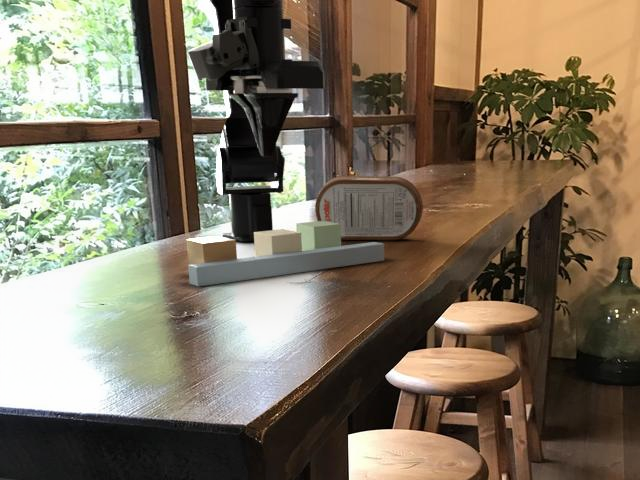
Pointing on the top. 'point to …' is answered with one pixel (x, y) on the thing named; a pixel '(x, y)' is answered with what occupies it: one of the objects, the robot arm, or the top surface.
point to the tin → (370, 207)
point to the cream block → (277, 242)
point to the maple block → (210, 249)
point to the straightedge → (284, 263)
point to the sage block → (319, 234)
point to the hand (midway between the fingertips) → (266, 156)
